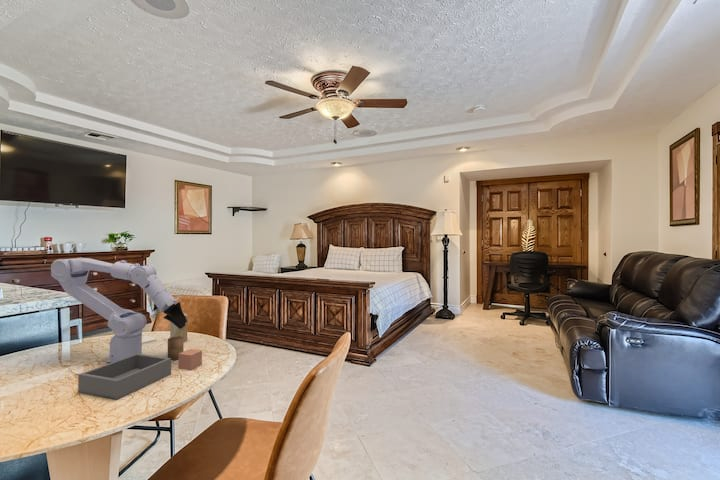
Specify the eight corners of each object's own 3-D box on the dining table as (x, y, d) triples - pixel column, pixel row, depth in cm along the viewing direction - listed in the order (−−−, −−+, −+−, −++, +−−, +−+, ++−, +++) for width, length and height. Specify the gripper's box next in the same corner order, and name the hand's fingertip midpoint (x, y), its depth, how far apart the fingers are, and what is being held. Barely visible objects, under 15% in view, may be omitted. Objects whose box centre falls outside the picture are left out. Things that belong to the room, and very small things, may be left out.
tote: (78, 392, 96) (78, 374, 95) (136, 368, 113) (136, 353, 113) (116, 399, 92) (116, 381, 92) (171, 374, 109) (171, 358, 109)
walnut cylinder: (164, 359, 122) (164, 339, 121) (175, 354, 126) (175, 335, 126) (175, 361, 120) (175, 341, 120) (186, 356, 125) (186, 337, 125)
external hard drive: (156, 342, 142) (122, 350, 131) (146, 339, 146) (112, 346, 136) (156, 338, 142) (122, 346, 131) (146, 335, 146) (112, 342, 136)
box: (178, 344, 138) (179, 316, 138) (169, 343, 139) (169, 316, 139) (187, 340, 143) (188, 314, 143) (178, 339, 144) (179, 313, 144)
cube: (178, 368, 114) (178, 353, 114) (189, 363, 118) (189, 349, 118) (190, 370, 112) (191, 355, 112) (201, 365, 117) (202, 350, 117)
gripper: (171, 282, 117) (196, 314, 117) (169, 292, 128) (192, 321, 128) (150, 295, 112) (176, 327, 112) (151, 304, 124) (174, 334, 124)
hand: (183, 325), depth 120 cm, fingers open, 7 cm apart
